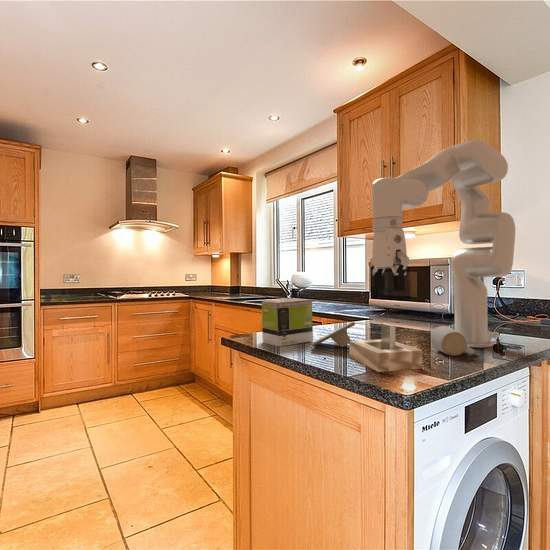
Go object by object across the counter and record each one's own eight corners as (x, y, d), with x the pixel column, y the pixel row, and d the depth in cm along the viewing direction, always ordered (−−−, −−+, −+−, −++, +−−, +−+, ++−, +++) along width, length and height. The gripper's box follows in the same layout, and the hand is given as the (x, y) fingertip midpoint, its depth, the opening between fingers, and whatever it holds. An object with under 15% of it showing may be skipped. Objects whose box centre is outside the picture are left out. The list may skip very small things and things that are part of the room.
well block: (387, 354, 105) (387, 339, 105) (422, 368, 90) (422, 350, 90) (349, 357, 102) (349, 341, 102) (378, 371, 87) (378, 353, 87)
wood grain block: (386, 359, 99) (386, 323, 99) (395, 363, 95) (395, 325, 94) (372, 360, 98) (371, 323, 98) (380, 364, 94) (380, 326, 93)
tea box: (295, 337, 134) (295, 297, 133) (313, 342, 125) (313, 299, 125) (261, 342, 125) (261, 299, 125) (277, 347, 117) (277, 301, 117)
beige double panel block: (330, 367, 107) (368, 333, 107) (310, 344, 109) (347, 311, 109) (329, 362, 123) (362, 333, 123) (312, 342, 125) (344, 314, 125)
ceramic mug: (442, 357, 102) (442, 329, 102) (430, 350, 110) (430, 325, 110) (480, 357, 101) (481, 330, 101) (465, 351, 110) (466, 326, 109)
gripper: (420, 221, 89) (421, 291, 89) (383, 229, 105) (384, 288, 106) (392, 221, 87) (393, 292, 87) (359, 229, 104) (360, 289, 104)
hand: (388, 290), depth 96 cm, fingers open, 9 cm apart
